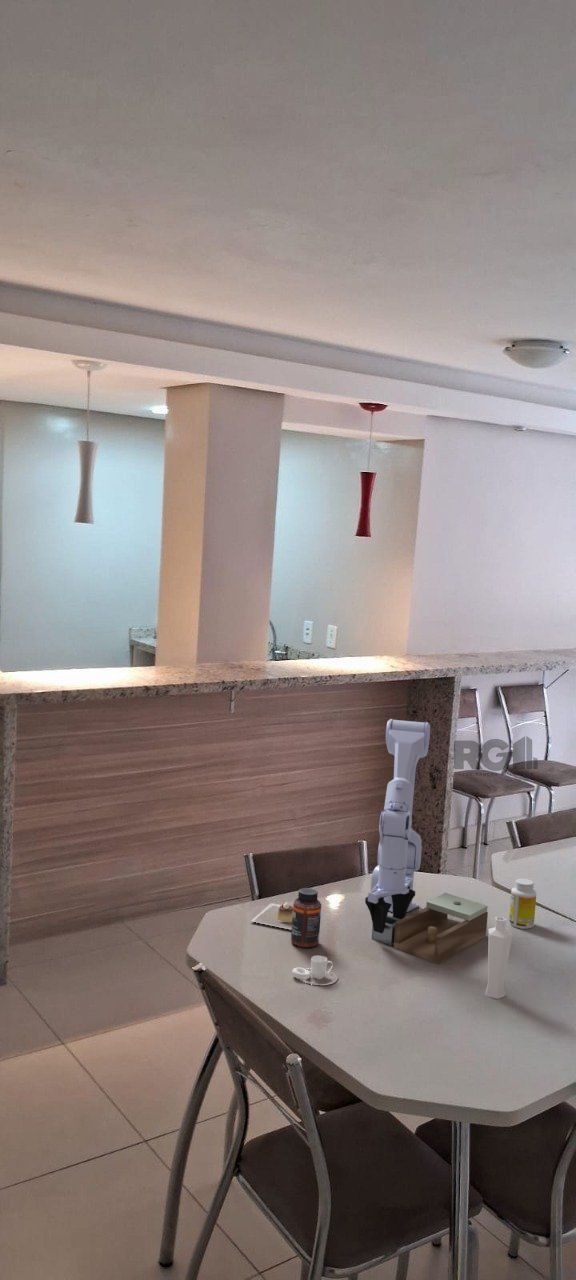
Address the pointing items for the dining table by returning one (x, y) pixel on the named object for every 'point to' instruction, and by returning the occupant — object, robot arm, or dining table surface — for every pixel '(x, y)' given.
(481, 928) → the housing
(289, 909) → the dessert
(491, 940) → the perfume bottle
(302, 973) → the teacup and saucer
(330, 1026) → the dining table surface
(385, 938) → the grey hollow square block
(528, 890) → the supplement bottle
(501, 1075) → the dining table surface
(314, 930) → the supplement bottle
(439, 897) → the cover
